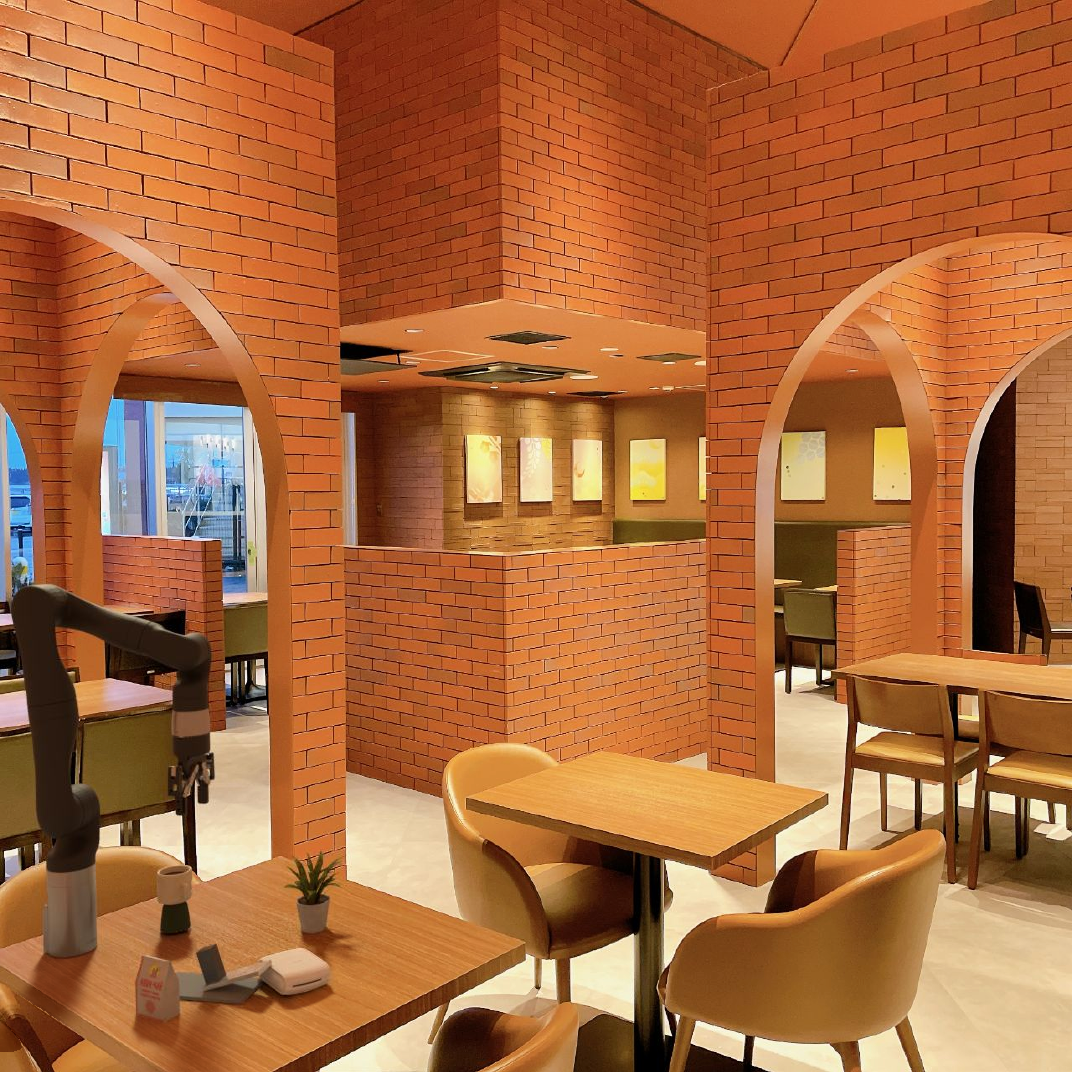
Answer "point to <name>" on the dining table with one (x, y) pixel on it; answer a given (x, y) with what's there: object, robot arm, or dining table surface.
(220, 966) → the grey l-shaped piece
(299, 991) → the photo printer
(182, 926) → the character mug
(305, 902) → the house plant
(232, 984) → the mat
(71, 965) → the dining table surface
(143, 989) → the tea bag
